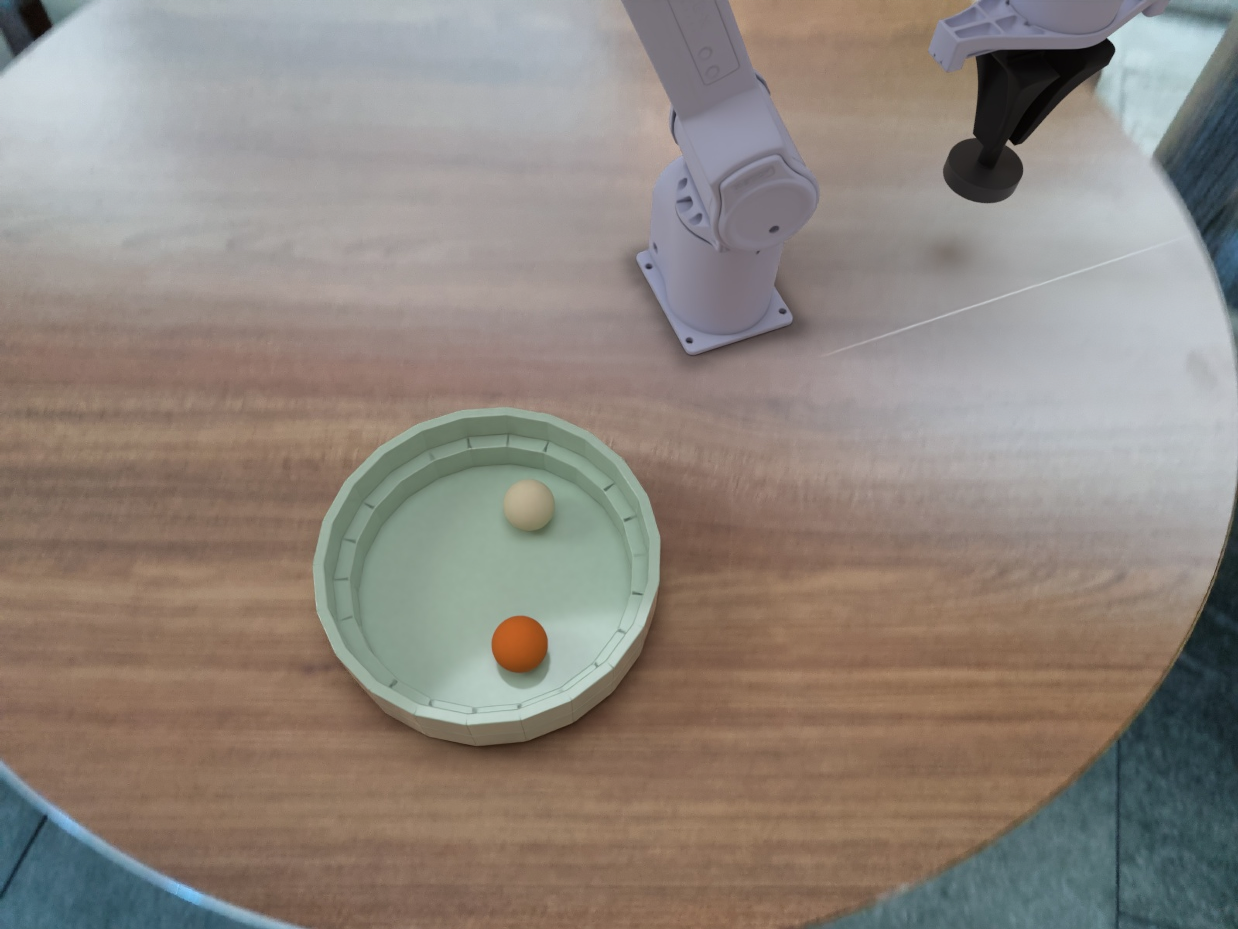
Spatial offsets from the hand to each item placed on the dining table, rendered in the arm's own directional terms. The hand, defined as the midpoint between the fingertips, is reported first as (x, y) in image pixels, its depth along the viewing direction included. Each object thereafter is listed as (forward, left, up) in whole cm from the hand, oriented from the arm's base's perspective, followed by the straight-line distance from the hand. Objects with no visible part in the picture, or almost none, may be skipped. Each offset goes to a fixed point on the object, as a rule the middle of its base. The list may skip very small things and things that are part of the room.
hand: (997, 137), depth 58 cm
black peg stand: (0, 0, -3) cm, 3 cm away
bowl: (+13, -38, -10) cm, 42 cm away
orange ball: (+17, -38, -8) cm, 43 cm away
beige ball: (+10, -35, -8) cm, 37 cm away
